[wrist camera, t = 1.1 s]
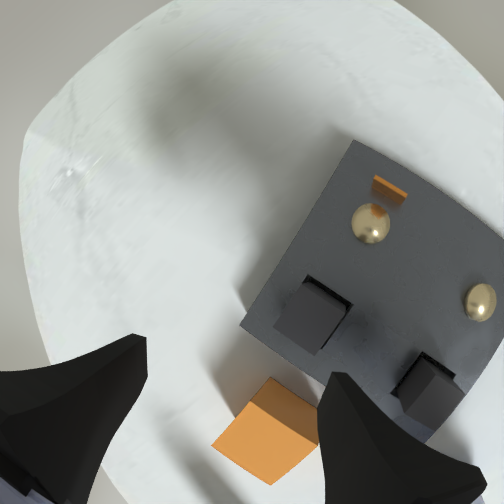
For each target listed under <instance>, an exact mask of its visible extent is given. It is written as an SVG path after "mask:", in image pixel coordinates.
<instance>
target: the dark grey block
mask: <svg viewBox="0 0 504 504" xmlns="http://www.w3.org/2000/svg"><path fill="white" fill-rule="evenodd" d="M345 308H346V305H344V304H343V303H341V302H340V301H338V300H337V299H335V298H334V297H332V296H331V295H329V294H328V293H326V292H325V291H323V290H322V289H320V288H319V287H317V286H316V285H314V284H313V283H311V282H308V283H304V284H301V285H300V287H299V288H298V290H297V291H296V293H295V294H294V296H293V297H292V299H291V300H290V302H289V303H288V305H287V306H286V308H285V309H284V311H283V312H282V314H281V315H280V317H279V318H278V320H277V321H276V323H275V324H274V326H273V328H274V329H276V330H277V331H279V332H280V333H282V334H283V335H284V336H286V337H287V338H289V339H290V340H292V341H293V342H294V343H296V344H297V345H299V346H300V347H302V348H303V349H305V350H306V351H307V352H309V353H310V354H312V355H313V356H315V355H316V354H317V352H318V351H319V350H320V348H321V347H322V345H323V344H324V343H325V341H326V340H327V339H328V337H329V336H330V335H331V333H332V332H333V330H334V329H335V328H336V326H337V325H338V323H339V322H340V320H341V319H342V318H343V316H344V315H345Z"/></svg>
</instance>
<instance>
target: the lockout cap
mask: <svg viewBox="0 0 504 504" xmlns="http://www.w3.org/2000/svg"><path fill="white" fill-rule="evenodd" d="M318 444H319V437H318V430H317V408H315V407H314V406H312V405H310V404H309V403H307V402H306V401H304V400H303V399H301V398H300V397H298V396H297V395H295V394H294V393H292V392H291V391H290V390H288V389H287V388H285V387H284V386H282V385H281V384H279V383H278V382H277V381H275V380H274V379H272V378H271V377H270V378H269V379H268V380H267V382H266V383H265V384H264V385H263V386H262V388H261V389H260V390H259V391H258V392H257V393H256V395H255V396H254V397H253V398H252V399H251V400H250V402H249V403H248V404H247V405H246V406H245V408H244V409H243V410H242V411H241V412H240V413H239V415H238V416H237V417H236V418H235V419H234V420H233V422H232V423H231V424H230V425H229V426H228V427H227V429H226V430H225V431H224V432H223V433H222V434H221V435H220V436H219V437H218V439H217V440H216V441H215V442H214V443H213V444H212V445H211V446H212V447H214V448H215V449H216V450H218V451H219V452H220V453H222V454H223V455H224V456H226V457H227V458H229V459H230V460H232V461H233V462H234V463H236V464H237V465H239V466H240V467H242V468H243V469H245V470H246V471H248V472H249V473H251V474H252V475H254V476H256V477H257V478H259V479H260V480H262V481H264V482H265V483H267V484H269V485H270V486H271V485H272V484H273V483H275V482H276V481H277V480H279V479H280V478H281V477H282V476H284V475H285V474H286V473H287V472H289V471H290V470H291V469H292V468H293V467H295V466H296V465H297V464H298V463H299V462H300V461H302V460H303V459H304V458H305V457H306V456H307V455H308V454H310V453H311V452H312V451H313V450H314V449H315V448H316V447H317V446H318Z"/></svg>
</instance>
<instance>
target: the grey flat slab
mask: <svg viewBox="0 0 504 504" xmlns="http://www.w3.org/2000/svg"><path fill="white" fill-rule="evenodd" d="M311 276H312V277H313V278H315V279H316V280H318V281H319V282H321V283H322V284H324V285H325V286H327V287H328V288H330V289H331V290H333V291H334V292H336V293H337V294H339V295H340V296H342V297H343V298H345V299H346V300H348V301H349V302H351V305H350V306H349V308H348V309H347V311H346V312H345V315H344V316H343V318H342V319H341V320H340V322H339V323H338V325H337V326H336V328H335V329H334V330H333V332H332V333H331V335H330V336H329V337H328V339H327V340H326V341H325V343H324V344H323V345H322V347H321V348H320V350H319V351H318V352H317V354H316V355H315V356H313V355H312V354H310V353H309V352H307V351H306V350H305V349H303V348H302V347H300V346H299V345H297V344H296V343H294V342H293V341H292V340H290V339H289V338H287V337H286V336H284V335H283V334H282V333H280V332H279V331H277V330H276V329H274V328H273V326H274V324H275V323H276V321H277V320H278V318H279V317H280V315H281V314H282V312H283V311H284V309H285V308H286V306H287V305H288V303H289V302H290V300H291V299H292V297H293V296H294V294H295V293H296V291H297V290H298V288H299V287H300V285H301V284H304V283H307V281H308V280H309V278H310V277H311ZM240 326H241V327H242V328H244V329H245V330H246V331H248V332H249V333H250V334H252V335H253V336H254V337H256V338H257V339H258V340H260V341H261V342H262V343H264V344H265V345H267V346H268V347H269V348H271V349H272V350H274V351H275V352H276V353H278V354H279V355H281V356H282V357H283V358H285V359H286V360H288V361H289V362H291V363H292V364H293V365H295V366H296V367H298V368H299V369H301V370H302V371H304V372H305V373H307V374H308V375H310V376H311V377H313V378H314V379H316V380H317V381H319V382H320V383H322V384H323V385H325V386H326V385H327V383H328V380H329V378H330V375H331V372H332V371H333V372H345V373H347V374H348V375H349V376H350V377H351V378H352V379H353V380H354V381H355V382H356V383H357V384H358V386H359V387H360V388H361V389H362V390H363V391H364V392H365V393H366V394H367V396H368V397H369V398H370V399H371V400H372V401H373V402H374V403H375V404H376V405H377V406H378V407H379V408H380V409H381V410H382V411H383V412H384V413H385V414H386V415H387V416H388V417H389V418H390V419H391V420H392V421H394V422H395V423H396V424H397V425H398V426H399V427H401V428H402V429H403V430H405V431H406V432H407V433H409V434H410V435H411V436H413V437H414V438H416V439H417V440H419V441H420V442H422V443H423V444H424V443H425V442H426V441H427V440H428V439H429V438H430V437H431V436H432V435H433V434H434V433H435V432H436V431H433V430H431V429H430V428H428V427H426V426H424V425H423V424H421V423H419V422H418V421H416V420H414V419H412V418H411V417H409V416H407V415H406V414H404V412H403V408H402V405H401V402H400V399H399V397H398V394H397V391H396V389H397V388H395V386H396V385H397V384H398V383H399V381H400V380H401V379H402V378H403V376H404V375H405V374H406V372H407V371H408V370H409V369H410V367H411V366H412V365H413V363H414V362H415V360H416V359H417V358H418V356H419V355H420V353H421V352H422V351H423V352H425V353H426V354H427V355H429V356H430V357H432V358H433V359H435V360H436V361H438V362H439V363H441V364H442V365H443V366H445V368H444V370H443V372H445V373H446V374H448V375H449V376H450V377H451V379H452V380H453V381H454V382H455V383H456V384H457V385H458V386H459V388H460V389H461V390H462V391H463V392H464V393H465V396H466V394H467V393H468V392H469V390H470V389H471V388H472V386H473V385H474V383H475V382H476V381H477V379H478V378H479V376H480V375H481V373H482V372H483V370H484V369H485V367H486V366H487V364H488V363H489V361H490V360H491V358H492V356H493V355H494V353H495V351H496V350H497V348H498V346H499V345H500V343H501V341H502V339H503V338H504V240H503V239H502V238H501V237H500V236H498V235H497V234H496V233H495V232H494V231H493V230H491V229H490V228H489V227H488V226H487V225H485V224H484V223H483V222H482V221H480V220H479V219H478V218H477V217H475V216H474V215H473V214H472V213H470V212H469V211H468V210H466V209H465V208H464V207H462V206H461V205H460V204H458V203H457V202H456V201H454V200H453V199H451V198H450V197H449V196H447V195H446V194H444V193H443V192H441V191H440V190H439V189H437V188H436V187H434V186H433V185H431V184H430V183H428V182H427V181H425V180H424V179H422V178H420V177H419V176H417V175H416V174H414V173H412V172H411V171H409V170H408V169H406V168H404V167H403V166H401V165H399V164H398V163H396V162H394V161H392V160H391V159H389V158H387V157H385V156H384V155H382V154H380V153H378V152H377V151H375V150H373V149H371V148H369V147H367V146H365V145H363V144H362V143H360V142H358V141H356V140H353V141H352V143H351V145H350V147H349V148H348V150H347V152H346V154H345V155H344V157H343V159H342V160H341V162H340V164H339V166H338V167H337V169H336V171H335V172H334V174H333V176H332V177H331V179H330V181H329V182H328V184H327V186H326V187H325V189H324V191H323V193H322V194H321V196H320V198H319V199H318V201H317V202H316V204H315V206H314V207H313V209H312V211H311V212H310V214H309V216H308V217H307V219H306V221H305V222H304V224H303V226H302V227H301V229H300V230H299V232H298V234H297V235H296V237H295V238H294V240H293V242H292V243H291V245H290V247H289V248H288V250H287V251H286V253H285V255H284V256H283V258H282V259H281V261H280V263H279V264H278V266H277V267H276V269H275V270H274V272H273V274H272V275H271V277H270V278H269V280H268V281H267V283H266V285H265V286H264V288H263V289H262V291H261V292H260V294H259V296H258V297H257V299H256V300H255V302H254V303H253V305H252V306H251V308H250V309H249V311H248V313H247V314H246V316H245V317H244V319H243V320H242V322H241V323H240ZM465 396H464V397H465ZM462 400H463V399H462ZM462 400H461V401H462ZM461 401H460V402H461ZM458 405H459V404H458ZM458 405H457V406H458ZM454 410H455V409H454ZM454 410H453V411H454ZM453 411H452V412H453ZM449 416H450V415H449ZM449 416H448V417H449ZM448 417H447V418H448ZM443 423H444V422H443ZM443 423H442V424H443ZM442 424H441V425H442ZM441 425H440V426H441ZM440 426H439V427H440Z"/></svg>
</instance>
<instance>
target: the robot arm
mask: <svg viewBox="0 0 504 504" xmlns="http://www.w3.org/2000/svg"><path fill="white" fill-rule="evenodd" d="M147 377H148V372H147V344H146V337H143V336H140V335H136V334H133V333H132V334H130V335H127V336H125V337H123V338H121V339H119V340H117V341H114V342H112V343H110V344H108V345H106V346H104V347H101V348H99V349H97V350H95V351H92V352H90V353H87V354H85V355H82V356H80V357H77V358H74V359H72V360H69V361H66V362H62V363H59V364H55V365H51V366H47V367H42V368H37V369H29V370H22V371H2V372H1V371H0V504H87V501H88V498H89V494H90V491H91V488H92V485H93V482H94V479H95V477H96V474H97V472H98V469H99V467H100V464H101V462H102V459H103V457H104V455H105V453H106V450H107V448H108V446H109V444H110V442H111V440H112V438H113V436H114V435H115V433H116V431H117V430H118V428H119V427H120V425H121V424H122V422H123V420H124V419H125V417H126V416H127V414H128V413H129V411H130V410H131V408H132V407H133V405H134V403H135V402H136V400H137V399H138V397H139V395H140V393H141V391H142V389H143V387H144V384H145V382H146V380H147ZM317 430H318V437H319V443H320V450H321V456H322V462H323V469H324V476H325V504H485V503H484V500H483V498H482V496H481V494H482V493H483V492H484V490H485V488H486V486H487V482H486V480H485V478H484V476H483V474H482V472H481V470H480V468H479V467H477V466H474V465H470V464H467V463H464V462H461V461H458V460H455V459H453V458H450V457H448V456H446V455H444V454H441V453H440V452H438V451H436V450H434V449H432V448H430V447H428V446H427V445H425V444H423V443H422V442H420V441H419V440H417V439H416V438H414V437H413V436H411V435H410V434H409V433H407V432H406V431H405V430H403V429H402V428H401V427H399V426H398V425H397V424H396V423H395V422H394V421H392V420H391V419H390V418H389V417H388V416H387V415H386V414H385V413H384V412H383V411H382V410H381V409H380V408H379V407H378V406H377V405H376V404H375V403H374V402H373V401H372V400H371V399H370V398H369V397H368V396H367V394H366V393H365V392H364V391H363V390H362V389H361V388H360V387H359V386H358V384H357V383H356V382H355V381H354V380H353V379H352V378H351V377H350V376H349V375H348V374H347V373H345V372H333V371H332V372H331V375H330V378H329V380H328V383H327V385H326V388H325V390H324V393H323V395H322V398H321V400H320V403H319V405H318V407H317Z"/></svg>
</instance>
